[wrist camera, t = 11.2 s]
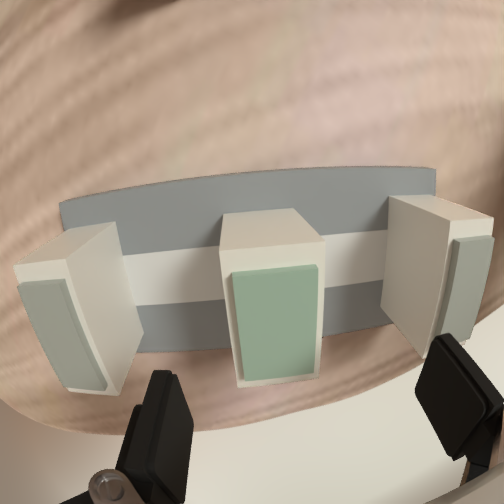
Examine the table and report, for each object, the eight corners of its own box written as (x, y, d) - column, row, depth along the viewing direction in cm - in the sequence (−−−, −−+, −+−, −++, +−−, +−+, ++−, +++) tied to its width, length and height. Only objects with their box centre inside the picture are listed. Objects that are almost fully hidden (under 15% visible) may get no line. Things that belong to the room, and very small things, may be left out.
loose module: (293, 207, 19) (328, 244, 12) (295, 314, 22) (320, 384, 15) (223, 213, 19) (218, 255, 12) (235, 320, 21) (238, 394, 14)
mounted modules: (430, 194, 19) (500, 220, 12) (418, 298, 22) (469, 348, 15) (69, 228, 18) (6, 269, 11) (101, 333, 21) (65, 397, 14)
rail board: (425, 167, 20) (436, 169, 18) (411, 309, 24) (419, 317, 23) (68, 199, 19) (58, 203, 18) (109, 342, 23) (103, 352, 22)
